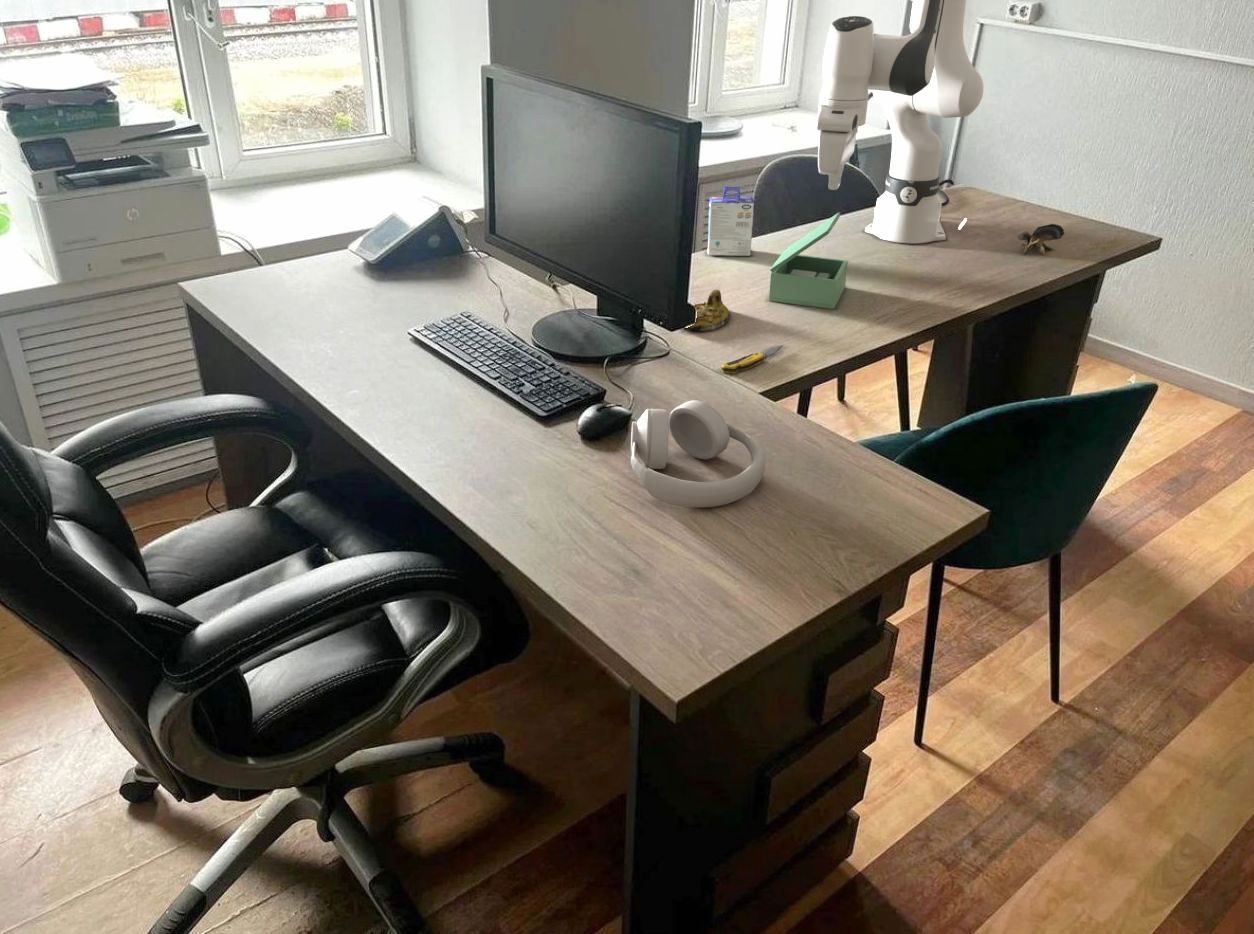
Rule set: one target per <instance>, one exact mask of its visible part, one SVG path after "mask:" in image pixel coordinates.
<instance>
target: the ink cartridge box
mask: <svg viewBox="0 0 1254 934" xmlns="http://www.w3.org/2000/svg"><path fill="white" fill-rule="evenodd" d="M729 191H735V192H736V193H727V192H729ZM754 211H755V201H754V197H753V196H741V187H740V186H723V196H710V197H709V204H708V225H707V226H708V229H707V249H706V250H707V256H730V257H731V256H733V257H734V256H735V257H737V256H738V257H739V256H740V257H751V253H752V241H753V240H752V239H753V228H754V227H753V224H754V213H755V212H754Z"/></svg>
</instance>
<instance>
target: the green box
mask: <svg viewBox="0 0 1254 934" xmlns="http://www.w3.org/2000/svg"><path fill="white" fill-rule="evenodd" d="M848 264H849V260H848V259H841V258H839V259H838V258H831V257H821V256H812V255H805V254H798V255H797V256H795V257H794V258H793V259H791V260H790V261H788V262H787V263H785V264H784V265H782V266H781V267H779V268H778V269H776V270H775V271H774V272H771V271H770V279H769V290H768V291H769V292H768V302H774V303H775V302H776V303H783V304H791V305H796V306H797V305H799V306H805V307H814V308H822V309H830V310H834V309H835V308H836V306H837V303H838V302H839V300H840V298H841V297H842V294H843V292H844V290H845V289H846V283H847V275H848V274H847V273H848V267H849V265H848ZM791 269H795V270H803V271H812V272H820V273H829V274H832V279H826V278H817V277H809V276H801V275H792V274H788V273H789V271H790V270H791Z"/></svg>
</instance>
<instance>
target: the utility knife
mask: <svg viewBox="0 0 1254 934" xmlns="http://www.w3.org/2000/svg"><path fill="white" fill-rule="evenodd" d="M784 346H785V344H778V345H773V346H770V347H767V348H766V349H763V350H761V351H755V352H752V353H750V354H749V355H745V356H742V357H740V358H738V359H735V360H732V361H728V362H726V363H723V364H722V365H721V372H722V373H725V374H736V373H737V372H742V371H746V370H749V369H752V368H753V367H755V366H757V365H760V364H761V363H763V362H764V361H765V360H767V359H768V358H769V357H771V356H774V355H775V354H777V352H778V351H779V350H780V349H782V347H784Z"/></svg>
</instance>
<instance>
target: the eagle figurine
mask: <svg viewBox="0 0 1254 934" xmlns="http://www.w3.org/2000/svg"><path fill="white" fill-rule="evenodd" d="M1064 235H1065V230H1064V229H1063V227H1062V225H1059V224H1056V223H1050V224H1045V225H1041V226H1038V227H1036V229H1035V230H1034V231H1033V232H1032V234H1030V232H1029V231H1028V230H1021V231H1019V232H1018V233H1017V235H1016V236H1017V237H1016V238H1017V239H1018V240H1019V241H1024V243H1023V242H1022V243H1021V244H1020V246H1023V247H1024V250H1023V255H1026V254H1027V253H1029V252H1030V251H1031V248H1032V247H1033V248H1034V249H1036V250H1038V251H1039V252H1041V253H1042V255H1043V256H1045V254H1046V253H1045V252H1046V251H1045V250H1046V249H1049V250H1052V248H1051V247H1049V246H1048V245H1047V244H1046V243H1045V241H1046V242H1049V241H1052V240H1054V241H1056V240H1061V239H1062V237H1064Z"/></svg>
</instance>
